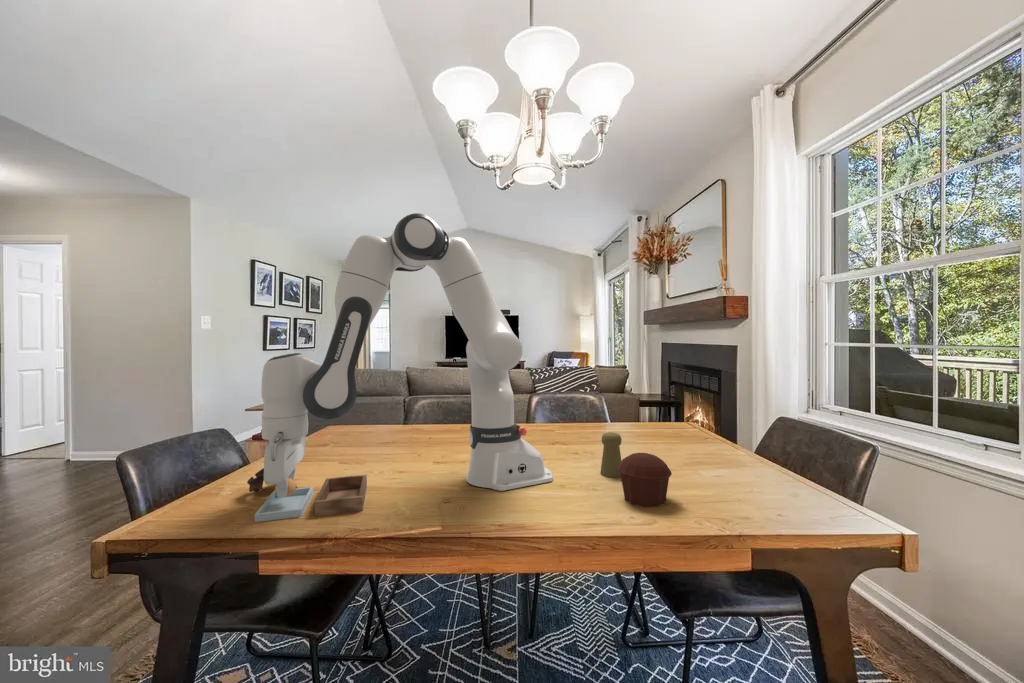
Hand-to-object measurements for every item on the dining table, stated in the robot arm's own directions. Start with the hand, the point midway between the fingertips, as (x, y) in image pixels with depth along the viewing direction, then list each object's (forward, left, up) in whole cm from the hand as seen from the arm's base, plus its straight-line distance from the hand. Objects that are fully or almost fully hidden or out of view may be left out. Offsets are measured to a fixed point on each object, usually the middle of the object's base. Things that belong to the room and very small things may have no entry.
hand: (286, 491), depth 91 cm
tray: (0, 0, -4) cm, 4 cm away
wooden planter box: (-12, 0, -4) cm, 12 cm away
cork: (-79, +1, -4) cm, 79 cm away
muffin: (-77, +19, -4) cm, 79 cm away
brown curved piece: (+5, -13, -4) cm, 14 cm away
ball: (0, 0, -1) cm, 1 cm away
